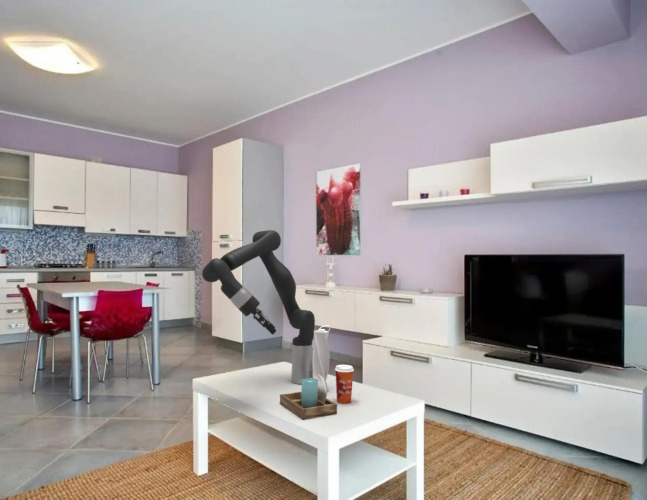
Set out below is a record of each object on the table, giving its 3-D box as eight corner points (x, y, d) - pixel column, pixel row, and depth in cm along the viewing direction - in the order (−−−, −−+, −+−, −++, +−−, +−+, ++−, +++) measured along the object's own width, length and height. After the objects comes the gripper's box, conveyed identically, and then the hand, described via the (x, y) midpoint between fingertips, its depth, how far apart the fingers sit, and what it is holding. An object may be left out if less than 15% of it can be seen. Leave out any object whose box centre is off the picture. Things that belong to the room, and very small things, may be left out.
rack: (311, 398, 180) (312, 369, 180) (336, 413, 163) (337, 380, 163) (279, 403, 173) (280, 372, 173) (302, 419, 156) (303, 385, 156)
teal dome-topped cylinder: (312, 406, 167) (313, 377, 167) (319, 411, 162) (321, 381, 162) (297, 408, 164) (299, 378, 164) (305, 413, 159) (306, 383, 159)
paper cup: (340, 405, 172) (340, 369, 172) (330, 400, 179) (331, 365, 179) (357, 403, 175) (358, 367, 176) (347, 397, 182) (348, 363, 183)
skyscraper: (325, 387, 198) (326, 324, 198) (332, 391, 190) (333, 326, 191) (307, 388, 194) (308, 324, 195) (314, 393, 187) (315, 327, 188)
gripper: (252, 295, 163) (282, 326, 164) (251, 293, 177) (279, 321, 178) (236, 310, 162) (267, 341, 163) (238, 306, 176) (266, 335, 177)
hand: (274, 331), depth 171 cm, fingers open, 8 cm apart
